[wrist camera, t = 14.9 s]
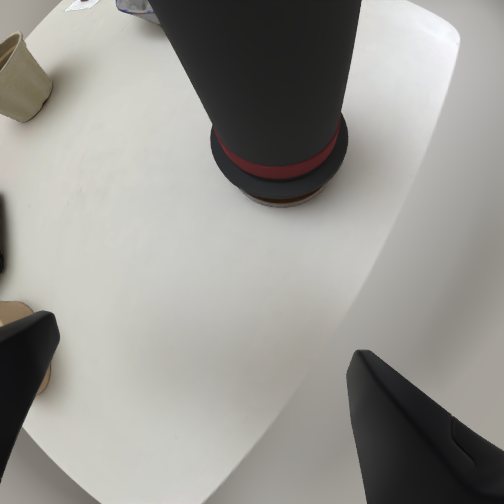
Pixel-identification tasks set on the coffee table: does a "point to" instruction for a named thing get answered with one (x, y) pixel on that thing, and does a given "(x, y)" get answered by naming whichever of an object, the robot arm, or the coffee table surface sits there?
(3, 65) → the flower pot
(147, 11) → the bowl
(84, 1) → the multicoloured piece
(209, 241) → the coffee table surface
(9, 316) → the hat box
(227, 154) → the top hat
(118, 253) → the coffee table surface
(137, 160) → the coffee table surface
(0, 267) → the gaming controller
